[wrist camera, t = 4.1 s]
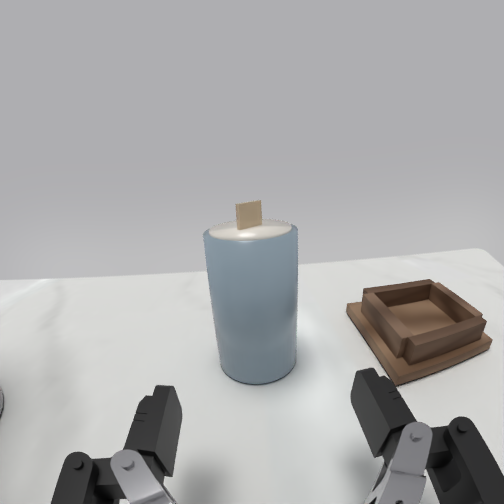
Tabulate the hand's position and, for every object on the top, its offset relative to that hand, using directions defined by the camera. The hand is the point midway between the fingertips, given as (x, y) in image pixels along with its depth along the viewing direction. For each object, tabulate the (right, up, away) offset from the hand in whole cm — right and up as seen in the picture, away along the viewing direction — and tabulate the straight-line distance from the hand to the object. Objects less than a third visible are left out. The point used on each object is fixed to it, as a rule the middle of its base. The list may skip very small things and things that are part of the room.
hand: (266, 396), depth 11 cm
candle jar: (0, -3, +11) cm, 12 cm away
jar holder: (+16, -2, +12) cm, 20 cm away
